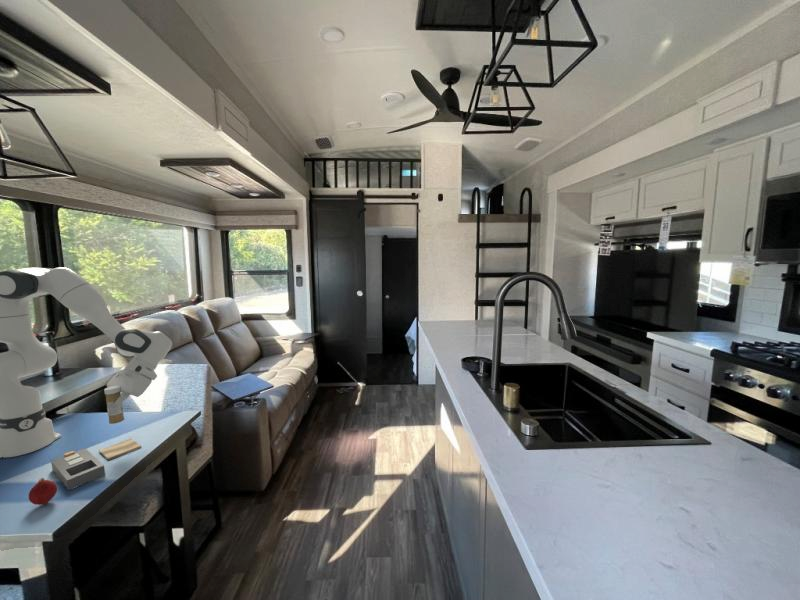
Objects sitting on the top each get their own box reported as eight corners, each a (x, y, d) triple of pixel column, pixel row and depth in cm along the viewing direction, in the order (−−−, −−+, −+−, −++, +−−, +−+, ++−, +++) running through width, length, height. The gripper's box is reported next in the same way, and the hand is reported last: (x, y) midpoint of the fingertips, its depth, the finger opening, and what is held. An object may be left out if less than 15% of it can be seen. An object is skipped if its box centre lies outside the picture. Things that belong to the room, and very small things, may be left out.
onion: (59, 503, 99) (55, 478, 98) (30, 514, 95) (26, 488, 94) (58, 494, 103) (54, 470, 102) (30, 504, 99) (26, 479, 98)
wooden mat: (99, 452, 126) (98, 450, 126) (131, 440, 134) (131, 438, 134) (108, 460, 121) (108, 458, 121) (141, 447, 129) (141, 445, 129)
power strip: (48, 464, 119) (46, 453, 119) (81, 452, 127) (80, 441, 126) (68, 490, 105) (66, 478, 104) (105, 475, 112) (103, 463, 112)
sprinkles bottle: (113, 419, 128) (108, 386, 126) (127, 418, 129) (122, 384, 127) (106, 425, 123) (101, 390, 122) (120, 423, 124) (115, 388, 123)
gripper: (118, 363, 135) (91, 395, 127) (145, 369, 125) (117, 404, 118) (132, 370, 139) (107, 401, 132) (159, 377, 130) (133, 411, 122)
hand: (112, 403), depth 125 cm, fingers closed on sprinkles bottle, 4 cm apart
